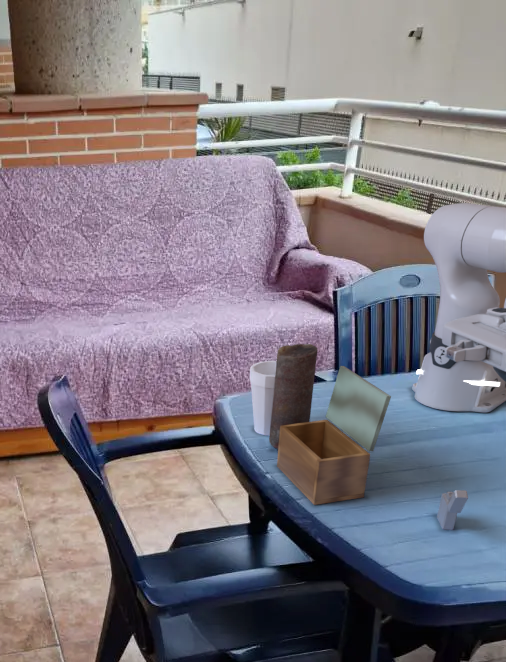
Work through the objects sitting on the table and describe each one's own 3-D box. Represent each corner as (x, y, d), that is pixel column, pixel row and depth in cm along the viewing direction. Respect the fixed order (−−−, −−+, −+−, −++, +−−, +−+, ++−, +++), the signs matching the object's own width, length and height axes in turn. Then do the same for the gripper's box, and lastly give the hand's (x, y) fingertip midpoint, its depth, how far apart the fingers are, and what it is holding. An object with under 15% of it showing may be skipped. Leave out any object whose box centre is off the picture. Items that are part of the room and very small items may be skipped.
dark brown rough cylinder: (307, 456, 142) (318, 354, 131) (268, 454, 143) (276, 353, 133) (306, 440, 148) (316, 341, 138) (268, 438, 150) (276, 340, 139)
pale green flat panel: (386, 396, 118) (391, 396, 118) (340, 365, 131) (344, 366, 131) (369, 451, 123) (373, 451, 123) (325, 416, 136) (329, 417, 136)
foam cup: (295, 422, 156) (301, 362, 149) (290, 440, 148) (296, 378, 142) (250, 418, 159) (253, 359, 152) (242, 436, 151) (246, 374, 144)
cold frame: (314, 505, 126) (319, 461, 122) (276, 466, 139) (280, 425, 135) (363, 497, 127) (370, 454, 123) (322, 459, 141) (327, 419, 136)
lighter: (436, 516, 121) (446, 472, 117) (447, 516, 121) (457, 472, 116) (446, 539, 115) (456, 493, 111) (458, 539, 115) (469, 494, 111)
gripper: (567, 373, 118) (488, 392, 117) (484, 339, 135) (414, 356, 134) (574, 334, 115) (492, 354, 113) (488, 304, 132) (417, 321, 131)
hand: (449, 354), depth 124 cm, fingers closed
